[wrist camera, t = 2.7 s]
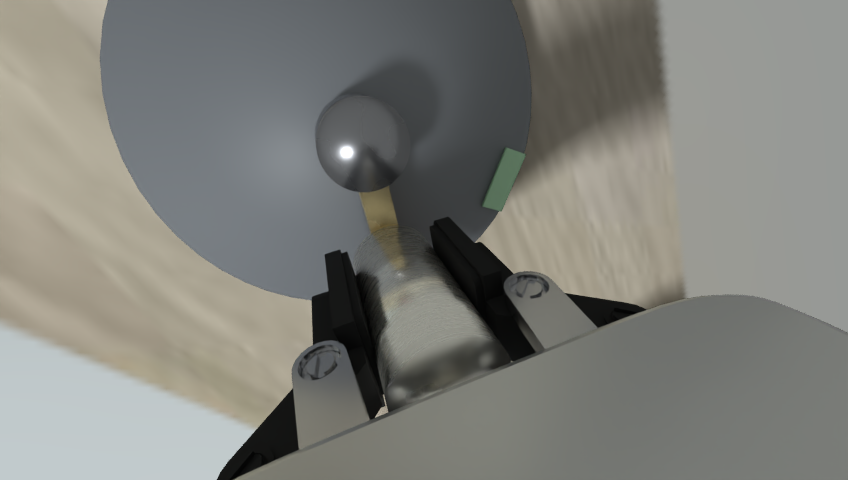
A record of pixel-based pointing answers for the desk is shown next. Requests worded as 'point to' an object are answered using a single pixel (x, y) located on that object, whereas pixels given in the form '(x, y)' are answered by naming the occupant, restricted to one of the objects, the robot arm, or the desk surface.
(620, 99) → the desk surface
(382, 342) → the light bulb
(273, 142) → the dial plate
